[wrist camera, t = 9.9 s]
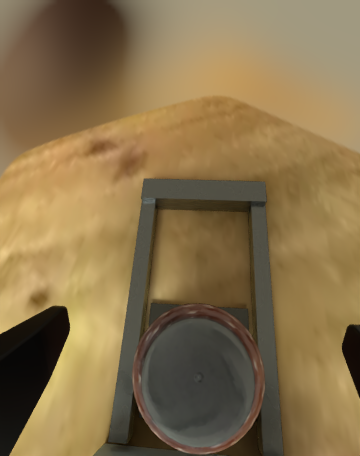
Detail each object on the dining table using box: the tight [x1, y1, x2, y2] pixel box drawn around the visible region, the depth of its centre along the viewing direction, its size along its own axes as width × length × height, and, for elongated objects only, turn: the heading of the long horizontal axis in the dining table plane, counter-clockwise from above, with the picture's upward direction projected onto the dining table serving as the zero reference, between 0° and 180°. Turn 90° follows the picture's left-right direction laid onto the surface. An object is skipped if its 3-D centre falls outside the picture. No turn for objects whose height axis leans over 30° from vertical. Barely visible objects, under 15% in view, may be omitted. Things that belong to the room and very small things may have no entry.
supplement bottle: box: [132, 304, 265, 455], centre depth 14 cm, size 6×6×11 cm
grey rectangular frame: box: [108, 179, 284, 456], centre depth 21 cm, size 20×11×2 cm, turn 176°
